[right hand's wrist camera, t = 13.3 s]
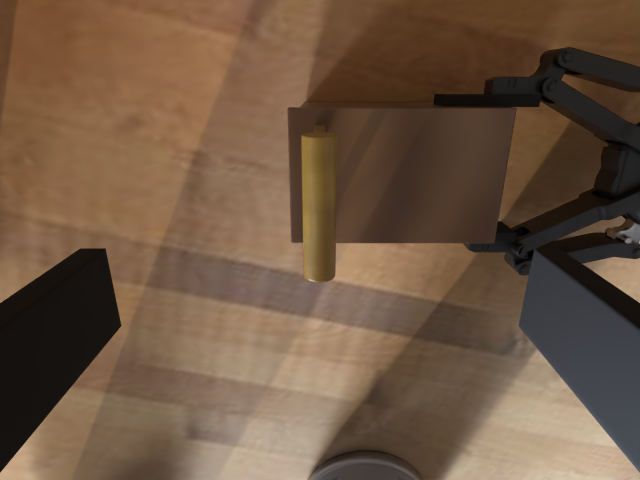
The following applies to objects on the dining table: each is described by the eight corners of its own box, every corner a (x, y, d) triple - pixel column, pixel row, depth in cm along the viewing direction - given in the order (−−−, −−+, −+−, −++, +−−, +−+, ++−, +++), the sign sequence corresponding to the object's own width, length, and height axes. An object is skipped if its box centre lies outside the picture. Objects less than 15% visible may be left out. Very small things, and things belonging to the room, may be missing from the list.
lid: (292, 238, 30) (281, 296, 22) (288, 107, 27) (274, 117, 18) (488, 238, 30) (553, 297, 22) (509, 107, 27) (595, 117, 18)
